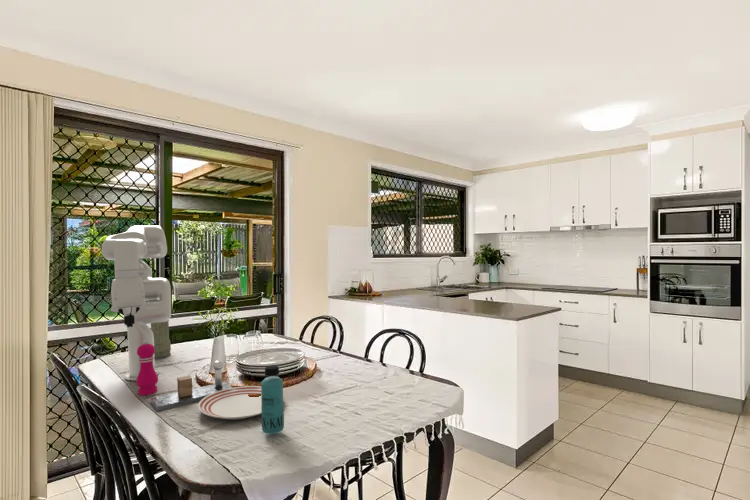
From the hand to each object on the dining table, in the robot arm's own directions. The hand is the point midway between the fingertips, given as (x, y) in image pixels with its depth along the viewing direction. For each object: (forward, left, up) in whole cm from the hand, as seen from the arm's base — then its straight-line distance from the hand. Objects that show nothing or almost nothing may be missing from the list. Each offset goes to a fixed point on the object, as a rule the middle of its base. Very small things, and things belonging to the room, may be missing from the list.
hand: (129, 326), depth 152 cm
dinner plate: (+31, +28, -28) cm, 50 cm away
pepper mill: (-7, +6, -27) cm, 29 cm away
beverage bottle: (+56, +28, -27) cm, 68 cm away
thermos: (-59, +21, -27) cm, 68 cm away
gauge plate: (+10, +18, -27) cm, 34 cm away
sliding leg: (+10, +15, -25) cm, 31 cm away
